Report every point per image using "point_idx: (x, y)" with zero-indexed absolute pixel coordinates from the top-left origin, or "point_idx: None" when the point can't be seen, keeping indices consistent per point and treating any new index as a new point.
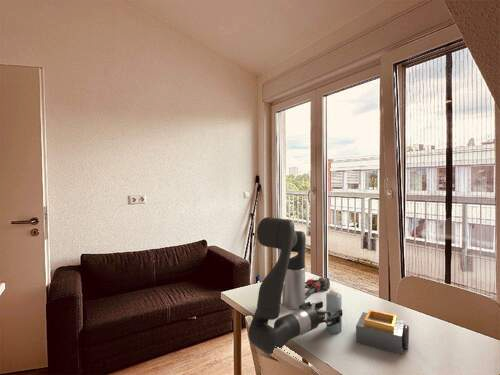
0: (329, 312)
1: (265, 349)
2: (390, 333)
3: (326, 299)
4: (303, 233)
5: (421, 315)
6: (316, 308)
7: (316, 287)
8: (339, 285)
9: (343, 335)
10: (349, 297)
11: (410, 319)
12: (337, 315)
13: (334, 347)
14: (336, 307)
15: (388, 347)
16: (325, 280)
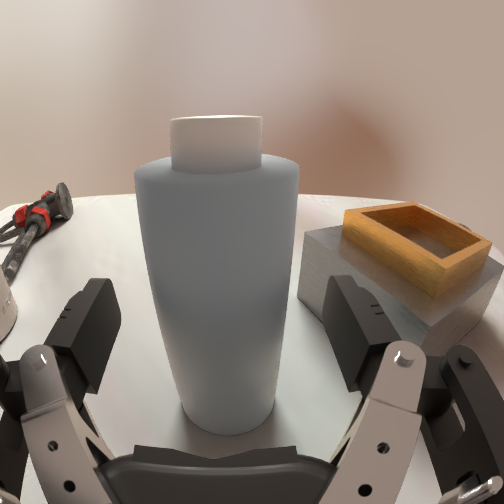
0: (418, 422)
1: None
2: (493, 274)
3: (156, 237)
4: None
5: (314, 197)
6: (129, 467)
7: (39, 220)
8: (93, 197)
9: (308, 401)
10: (137, 212)
11: (319, 211)
12: (475, 373)
13: None
14: (284, 276)
15: (470, 324)
16: (59, 190)
